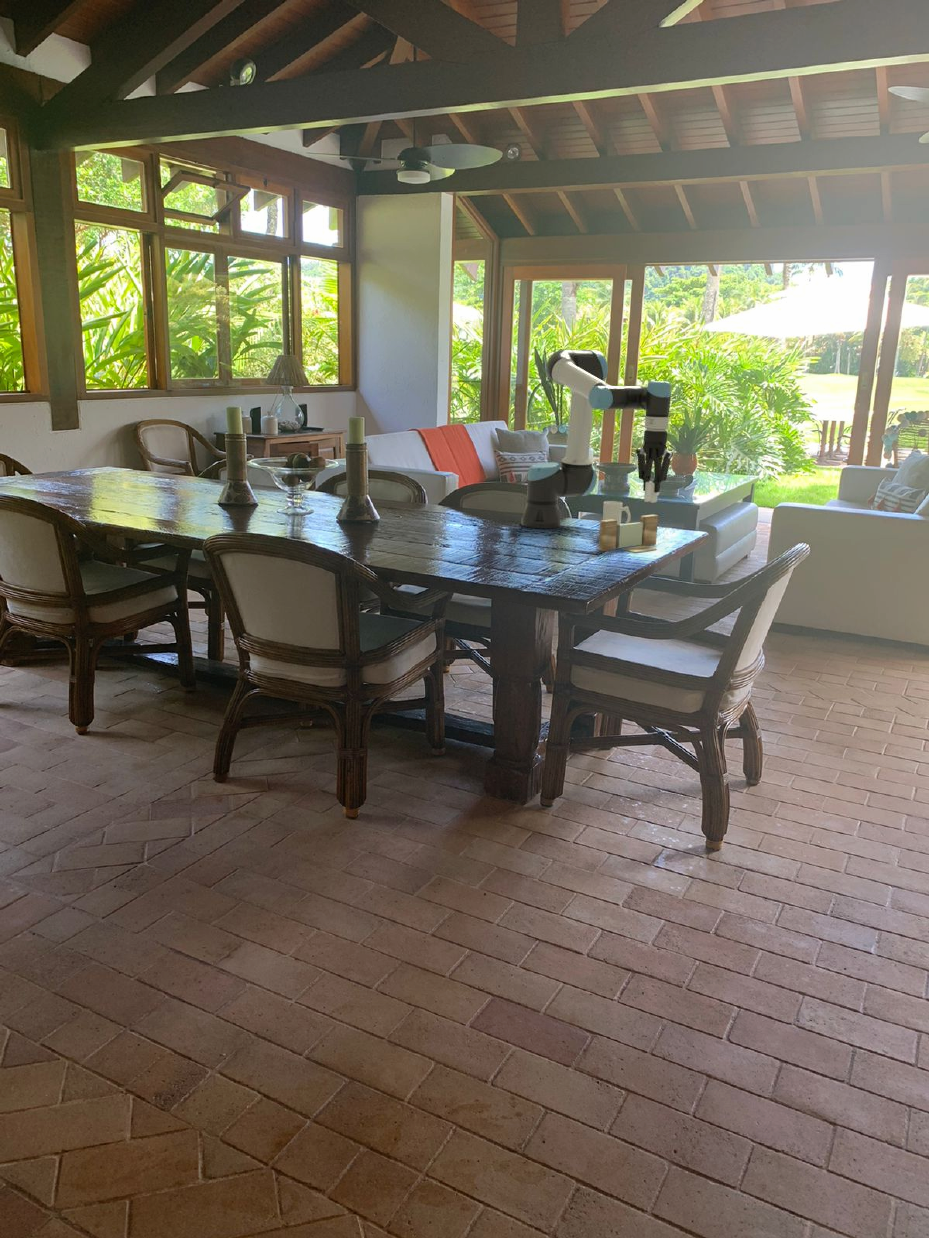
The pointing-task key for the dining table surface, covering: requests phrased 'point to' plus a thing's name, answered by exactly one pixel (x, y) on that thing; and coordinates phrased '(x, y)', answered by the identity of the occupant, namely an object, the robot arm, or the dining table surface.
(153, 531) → the dining table surface
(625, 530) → the gate door
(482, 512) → the dining table surface
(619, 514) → the mug
